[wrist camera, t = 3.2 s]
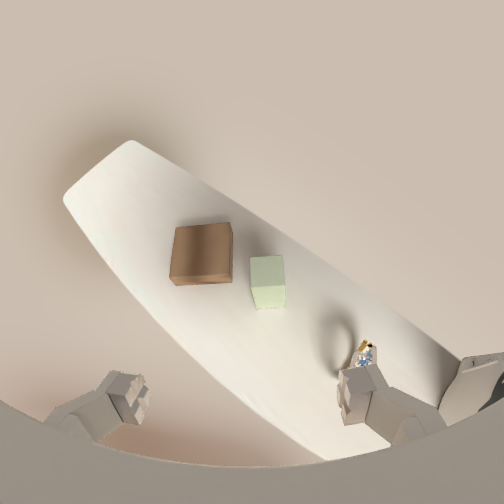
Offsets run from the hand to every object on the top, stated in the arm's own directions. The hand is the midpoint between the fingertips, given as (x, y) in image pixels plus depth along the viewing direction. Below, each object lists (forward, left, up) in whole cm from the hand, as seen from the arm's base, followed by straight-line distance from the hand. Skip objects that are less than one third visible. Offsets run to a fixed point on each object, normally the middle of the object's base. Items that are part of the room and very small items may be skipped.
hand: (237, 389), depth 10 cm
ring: (-11, -2, -26) cm, 28 cm away
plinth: (+9, -21, -26) cm, 35 cm away
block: (-1, -14, -26) cm, 29 cm away
